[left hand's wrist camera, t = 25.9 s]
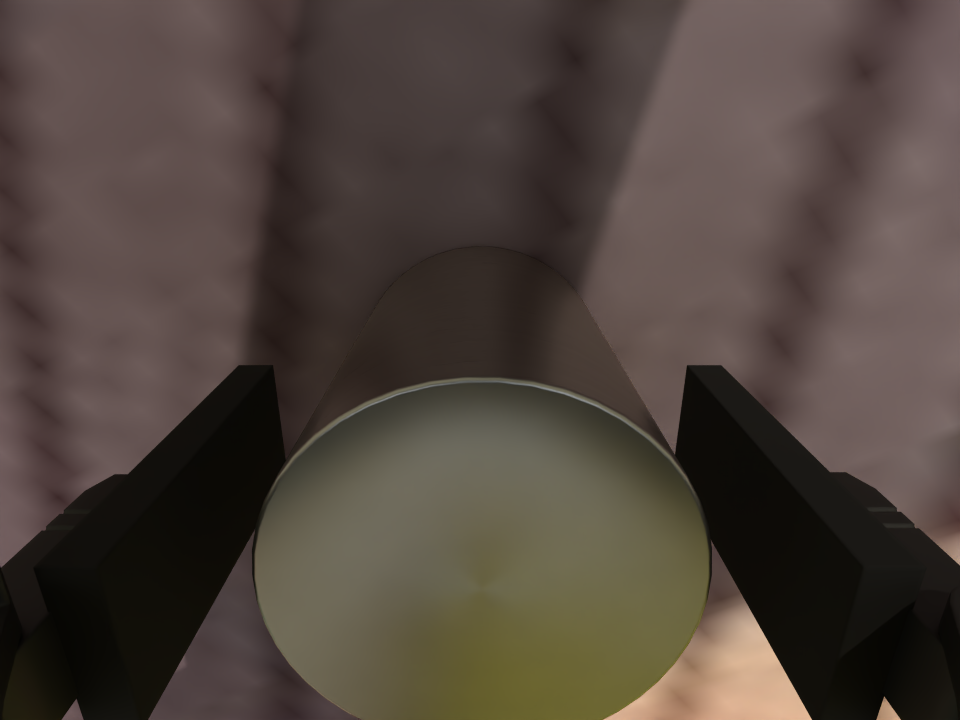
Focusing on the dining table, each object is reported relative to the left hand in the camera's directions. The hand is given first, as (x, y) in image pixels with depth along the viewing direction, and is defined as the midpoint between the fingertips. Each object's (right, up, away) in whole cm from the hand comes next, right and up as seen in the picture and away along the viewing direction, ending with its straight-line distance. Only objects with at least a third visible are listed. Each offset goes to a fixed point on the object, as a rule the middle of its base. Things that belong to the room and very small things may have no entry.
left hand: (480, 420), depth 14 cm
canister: (0, +1, +3) cm, 4 cm away
